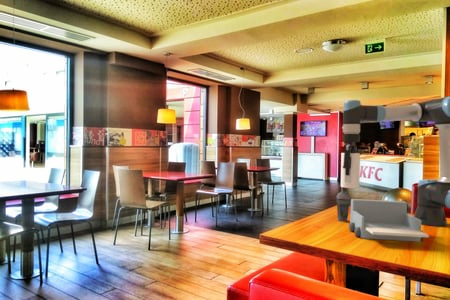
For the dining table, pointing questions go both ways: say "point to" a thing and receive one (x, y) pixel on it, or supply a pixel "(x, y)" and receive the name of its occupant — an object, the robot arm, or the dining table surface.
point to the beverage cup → (343, 205)
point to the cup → (354, 171)
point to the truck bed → (382, 219)
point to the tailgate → (396, 232)
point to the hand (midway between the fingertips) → (350, 181)
